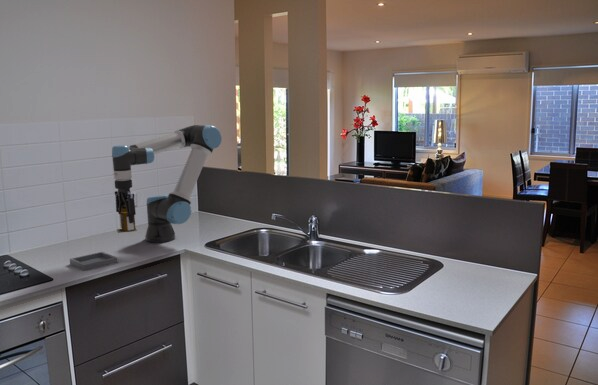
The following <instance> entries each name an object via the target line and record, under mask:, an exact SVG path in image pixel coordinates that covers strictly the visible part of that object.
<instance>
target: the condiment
mask: <svg viewBox="0 0 598 385" xmlns="http://www.w3.org/2000/svg"><path fill="white" fill-rule="evenodd" d="M120 213H121V225H122V228H117V229H116V232H117V233H118V234H121V233H131V232H137V231H138V229H137V228H136V219H135V217H136V216H135V215H134V216H133V223H134V229H133V230H128V227H127V217H126V216H127V211H126V206H125V205H122V206H121V212H120Z"/></svg>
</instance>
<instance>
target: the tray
mask: <svg viewBox="0 0 598 385" xmlns="http://www.w3.org/2000/svg"><path fill="white" fill-rule="evenodd" d="M114 264H118V256H115V255H112V254H109V253H107V252H104V251H99V252H94V253H91V254H90V253H89V254H85V255H82V256H76V257H72V258H71V257H70V258H69V265H71V266H73V267H75V268H77V269H79V270H82V271H83V272H84V271H85V272H86V271H89V270H93V269H98V268H102V267H105V266H110V265H114Z"/></svg>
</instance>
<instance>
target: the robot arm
mask: <svg viewBox="0 0 598 385" xmlns="http://www.w3.org/2000/svg"><path fill="white" fill-rule="evenodd" d="M222 138H223V137H222V134H221V131H220V130H219V128H217V127H216V126H214V125H211V124H207V125H206V124H205V125H204V124H203V125H202V124H194V125H188V126H186V127H183V128H180V129H177V130H175V131H174V132H173V133H170V134H167V135H163V136H159V137H156V138H152V139H149V140H146V141H141V142H138V143H135V144H131V145H127V144H126V145H125V144H123V145H122V144H121V145H120V144H119V145H113V146H112V148H111V157H112V158H111V159H112V167H113V168H112V169H113V174H112V175H113V177H114V188H115V189H116V191H114V195H115V210H116V211H115V212H116V213H118V215H119V224H120V225H119V227H120V228H119V229H122V225H121V213H120V212H121V206H122V205H125V206H126V211H127V216H126V217H127V227H128V230H133V229H134V223H133V216H135V215H137V214H136V213H137V212H136V205H135V194H134V193H131V192H132V191H131V188H133V180H132V166H138V165H147V164H151V163H153V162H154V160H155V155H156V154H157V155H158V154H159V153H163V152H167V151H170V150H173V149H176V148H177V149H178V148H179V149H183V148H190V149H191V150H190V153H189V155H188V157H187V159H186V162H185V164H184V166H183V168H182V171H181V174H180V175H179V178H178V180H177V183H176V185H175V187H174V190H173V191H171V192H169V194H160V195H152V196H149V197H147V198H146V213H147V228H146V232H145V235H144V237H145V241H146V242H149V243H166V242H171V241H174V240H175V239H176V232H175V230H174V228H173V224H174V225H182V224H184V223H186V222H187V221H188V220H189V219H190V218H191V215H192V209H191V208H192V207H191V204H192V200H191V195H192V193H193V191H194V189H195V186H196V184H197V182H198V179H199V176H200V175H201V171H202V170H203V167H204V165H205V162H206V160H207V158H208V156H211V155H213V151H214V150H215V149H217V148H219V147H220V145H221V144H222Z"/></svg>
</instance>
